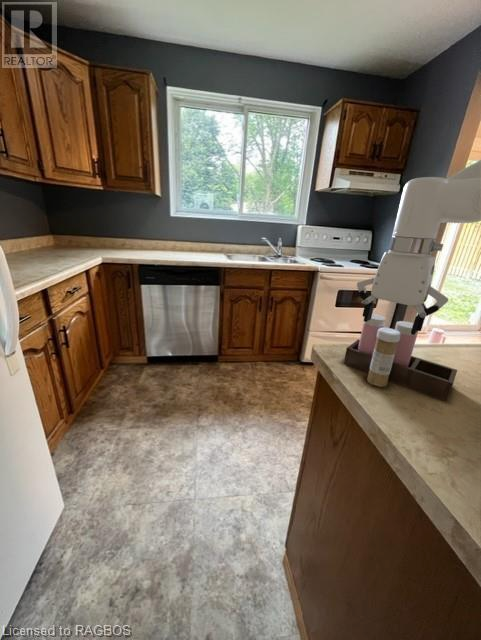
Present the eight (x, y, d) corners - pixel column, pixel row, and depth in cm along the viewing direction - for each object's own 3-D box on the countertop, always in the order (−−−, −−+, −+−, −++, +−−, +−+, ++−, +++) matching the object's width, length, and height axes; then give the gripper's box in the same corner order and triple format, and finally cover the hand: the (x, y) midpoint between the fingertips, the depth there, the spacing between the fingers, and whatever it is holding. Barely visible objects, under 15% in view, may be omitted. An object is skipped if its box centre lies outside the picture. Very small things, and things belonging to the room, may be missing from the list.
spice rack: (451, 386, 65) (457, 369, 63) (446, 401, 59) (453, 383, 57) (355, 353, 79) (358, 339, 78) (343, 363, 73) (346, 347, 72)
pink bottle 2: (407, 372, 69) (421, 324, 65) (402, 379, 66) (417, 330, 61) (387, 365, 72) (399, 319, 68) (381, 371, 69) (394, 324, 64)
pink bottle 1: (377, 361, 74) (388, 316, 69) (371, 368, 70) (382, 321, 66) (359, 355, 77) (368, 312, 72) (352, 361, 73) (362, 316, 69)
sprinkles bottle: (386, 380, 66) (399, 329, 62) (387, 389, 62) (402, 336, 58) (366, 375, 68) (377, 325, 63) (366, 384, 64) (378, 332, 59)
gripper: (466, 251, 52) (438, 334, 57) (372, 242, 62) (356, 313, 68) (462, 253, 46) (432, 344, 52) (360, 243, 57) (344, 319, 63)
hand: (389, 326), depth 60 cm, fingers open, 9 cm apart
